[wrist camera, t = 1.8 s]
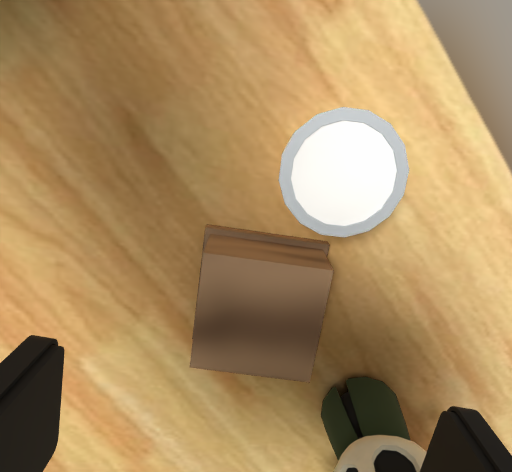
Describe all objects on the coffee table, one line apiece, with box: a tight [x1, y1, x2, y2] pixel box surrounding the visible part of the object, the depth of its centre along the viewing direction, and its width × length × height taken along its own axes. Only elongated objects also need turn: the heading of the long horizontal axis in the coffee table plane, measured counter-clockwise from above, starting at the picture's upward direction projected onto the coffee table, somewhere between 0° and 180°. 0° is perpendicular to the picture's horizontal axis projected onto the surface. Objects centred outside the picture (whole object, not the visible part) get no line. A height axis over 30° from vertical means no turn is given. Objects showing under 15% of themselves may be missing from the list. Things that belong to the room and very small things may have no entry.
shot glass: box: [279, 107, 409, 237], centre depth 25 cm, size 7×7×7 cm
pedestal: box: [190, 225, 334, 383], centre depth 29 cm, size 9×9×5 cm
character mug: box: [321, 377, 427, 472], centre depth 28 cm, size 11×7×13 cm, turn 124°
